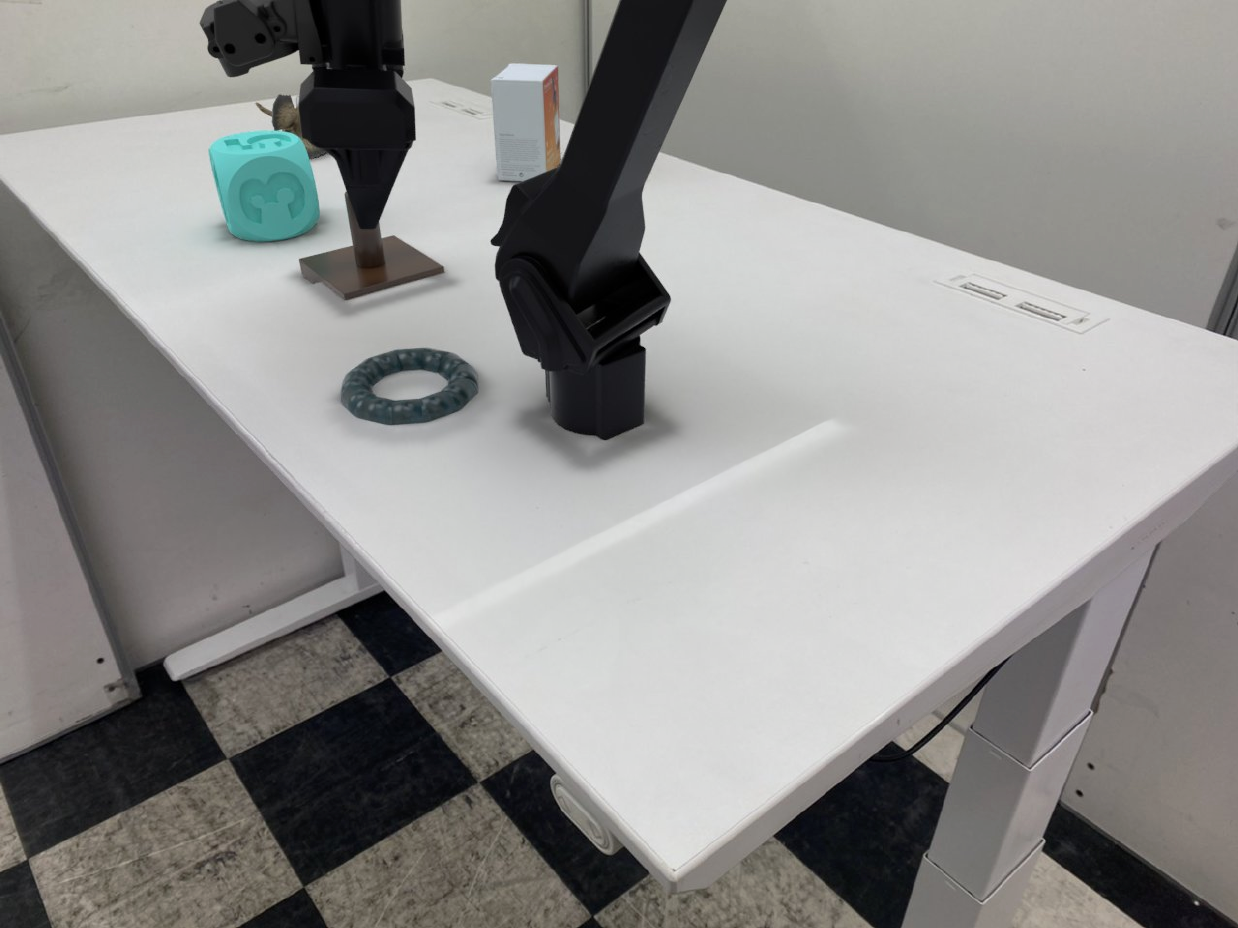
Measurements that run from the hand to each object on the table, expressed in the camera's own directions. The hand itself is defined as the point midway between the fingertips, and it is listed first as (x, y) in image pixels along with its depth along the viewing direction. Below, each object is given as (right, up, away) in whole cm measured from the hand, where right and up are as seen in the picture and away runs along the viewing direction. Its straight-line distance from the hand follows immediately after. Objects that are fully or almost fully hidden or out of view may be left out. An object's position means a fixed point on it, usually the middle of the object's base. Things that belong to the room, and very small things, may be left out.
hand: (366, 199), depth 63 cm
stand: (-4, -2, +16) cm, 17 cm away
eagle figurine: (-21, +19, +47) cm, 55 cm away
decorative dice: (-16, +5, +26) cm, 31 cm away
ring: (+3, -13, -1) cm, 13 cm away
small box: (+7, +14, +40) cm, 44 cm away
